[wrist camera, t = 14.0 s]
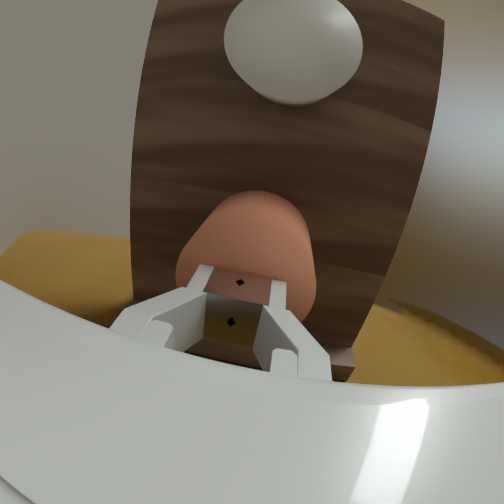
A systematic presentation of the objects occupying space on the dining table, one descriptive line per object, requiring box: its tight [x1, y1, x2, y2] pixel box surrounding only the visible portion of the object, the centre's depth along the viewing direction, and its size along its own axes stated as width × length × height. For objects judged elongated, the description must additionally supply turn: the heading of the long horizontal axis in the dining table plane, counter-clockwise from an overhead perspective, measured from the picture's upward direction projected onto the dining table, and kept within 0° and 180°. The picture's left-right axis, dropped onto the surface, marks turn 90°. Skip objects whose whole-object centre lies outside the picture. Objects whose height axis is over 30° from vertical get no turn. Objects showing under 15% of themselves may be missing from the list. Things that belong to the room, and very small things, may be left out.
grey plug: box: [224, 0, 363, 107], centre depth 12 cm, size 10×5×5 cm, turn 173°
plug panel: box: [129, 0, 444, 381], centre depth 15 cm, size 6×16×24 cm, turn 83°
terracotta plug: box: [176, 191, 316, 323], centre depth 14 cm, size 10×5×5 cm, turn 173°
